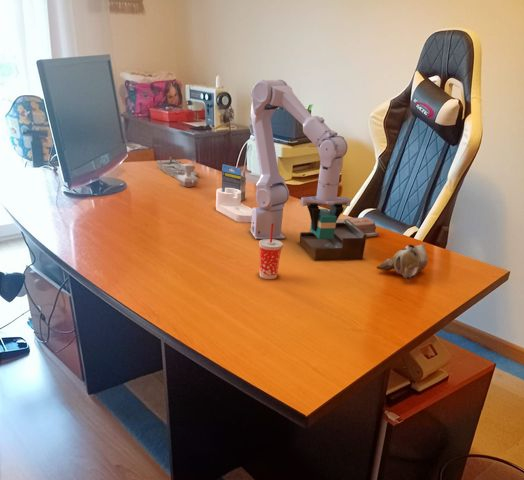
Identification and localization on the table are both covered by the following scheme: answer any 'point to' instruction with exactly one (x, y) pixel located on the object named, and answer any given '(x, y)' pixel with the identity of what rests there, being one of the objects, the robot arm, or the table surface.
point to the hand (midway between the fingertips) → (322, 229)
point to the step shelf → (336, 243)
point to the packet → (325, 225)
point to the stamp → (187, 176)
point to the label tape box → (233, 180)
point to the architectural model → (172, 167)
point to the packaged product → (363, 225)
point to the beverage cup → (269, 256)
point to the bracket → (232, 205)
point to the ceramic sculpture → (407, 261)
